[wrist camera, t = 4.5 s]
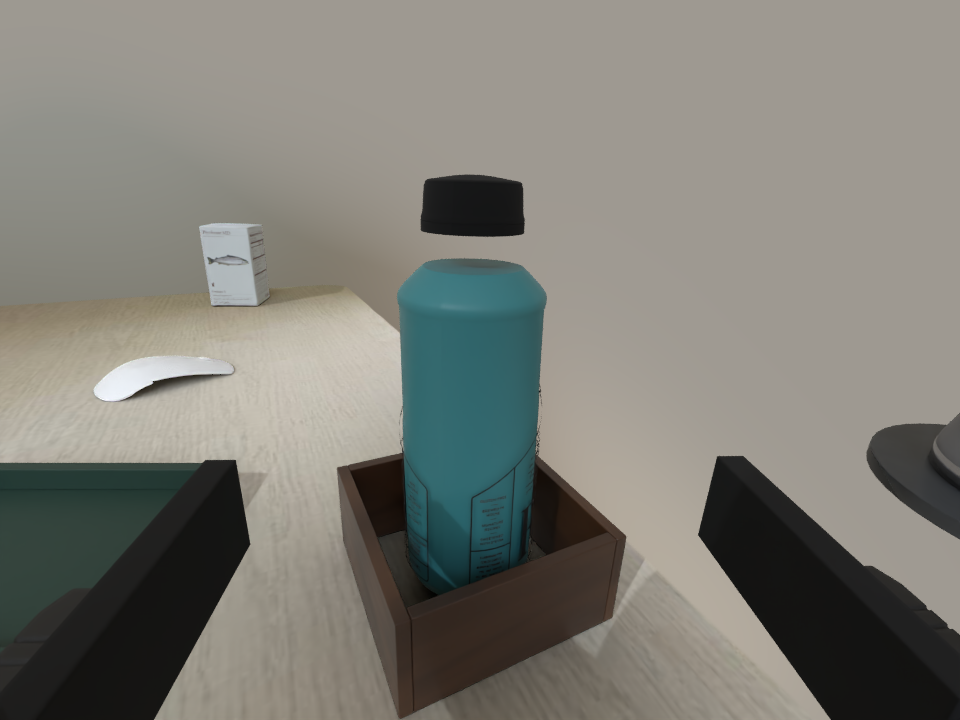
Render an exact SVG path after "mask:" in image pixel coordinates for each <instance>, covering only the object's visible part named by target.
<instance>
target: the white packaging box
mask: <svg viewBox="0 0 960 720" xmlns="http://www.w3.org/2000/svg"><path fill="white" fill-rule="evenodd" d="M199 230H200V236H201V242H202V248H203V255H204V261H205V267H206V273H207V279H208V286H209V292H210V298H211V304H212V306H216V305H242V306H258V305H260V304H261V303H262V302H264V301H265V300H266V299H268V298H269V297H270V295H269V286H268V275H267V267H266V259H265V250H264V241H263V232H262V225H257V224H232V223H213V224H208V225H203V226H199Z"/></svg>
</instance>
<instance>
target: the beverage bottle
mask: <svg viewBox="0 0 960 720" xmlns="http://www.w3.org/2000/svg"><path fill="white" fill-rule="evenodd" d="M524 221H525V220H524V215H523V187H522V183H521V182H518V181H512V180H507V179H503V178H497V177H492V176H484V175H454V176H446V177H439V178H431V179H427V180H426V181H425V184H424V191H423V209H422V214H421V231H423V232H427V233H433V234H442V235H455V236H483V237H485V236H486V237H489V236H490V237H495V236H514V235H521V234H523V233H524V224H525V223H524ZM397 300H398V304H399V310H400V311H399V312H400V340H401V367H402V394H403V407H402V408H403V448H404V451H403V453H404V459H403V453H402V463H403V460H404V469H405V475H404V476H403V481H402V483H403V486H404V503H403V507H405V526H406V523H407V526H406V528H407V530H406V531H405V532H407V533H408V535H407V536H408V546H407V541H406V542H405V543H406V548H407V547H408V554H409V560H410V563H411V565H410V566H412V567H411V568H412V569H413V570H414V572H415V574H416V576H417V577H418V579H419V580H420V581H421V583H422V584H423V585H424V586H426V587H427V588H428V589H429V590H431V591H432V592H434V593H436V594H438V595H441V594H444V593H447V592H449V591H452V590H455V589H457V588H460V587H463V586H465V585H468V584H471V583H473V582H476V581H479V580H482V579H484V578H487V577H490V576H492V575H495V574H498V573H500V572H503V571H506V570H508V569H511V568H514V567H516V566H519V565H522V564H524V563H526V562H527V557H528V547H529V538H530V537H529V533H530V531H531V526H532V513H531V505H532V503H533V506H534V498H533V500H532V492H533V486H534V484H535V482H537V481H536V480H535V482H534V484H533V478H534V479H535V477H536V476H535V477H534V474H535V472H534V468H535V466H534V464H535V460H537V458H536V457H535V451H536V450H535V449H536V441H537V440H536V436H537V434H538V433H537V422H538V407H539V392H541V390H540V391H539V386H540V384H539V379H540V363H541V346H542V331H543V315H544V308H545V305H546V300H547V296H546V293H545V291H544V289H543V288H542V287H541V285H540V284H539V283H538V282H537V281H536V280H535V279H534V278H533V276H532V275H531V274H530V273H529V272H528V271H527V270H526V269H525V268H524V267H522V266H521V265H518V264H514V263H510V262H505V261H498V260H488V259H441V260H434V261H429V262H426V263H424V264H423V265H422V266H421V267H419V268H418V269H417V270H416V271H415V272H414V273H413V274H412V275H411V276H410V277H409V278H408V279H407V280H406V281H405V282H404V284H403V285H402V286H401V287H400V289H399V290H398V294H397ZM401 412H402V411H401ZM400 416H401V414H400ZM399 424H400V422H399ZM399 435H400V434H399ZM400 442H402V440H400ZM400 445H401V443H400ZM538 445H539V443H538V444H537V446H538ZM401 446H402V445H401ZM538 447H539V446H538ZM403 448H402V450H403ZM537 452H539V451H538V450H537ZM537 452H536V454H537ZM537 457H538V455H537ZM537 462H538V461H537ZM536 464H537V463H536ZM537 466H538V465H537ZM537 466H536V468H537ZM401 467H402V465H401ZM537 470H538V469H537ZM535 471H536V470H535ZM536 475H537V473H536ZM536 478H537V477H536ZM535 497H536V492H535ZM402 498H403V496H402ZM534 510H535V507H534ZM403 512H404V511H403ZM530 519H531V521H530ZM533 523H534V520H533ZM404 529H405V527H404ZM530 534H531V533H530ZM405 536H406V534H405ZM532 536H533V530H532ZM532 536H531V537H532ZM406 538H407V537H406ZM531 539H532V538H531ZM530 542H531V540H530ZM530 552H531V550H530ZM405 553H406V552H405ZM529 555H530V554H529ZM406 557H407V556H406ZM530 557H531V556H530ZM528 558H529V557H528ZM407 560H408V559H407ZM529 560H530V559H529ZM408 563H409V561H408ZM410 563H409V564H410Z"/></svg>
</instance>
